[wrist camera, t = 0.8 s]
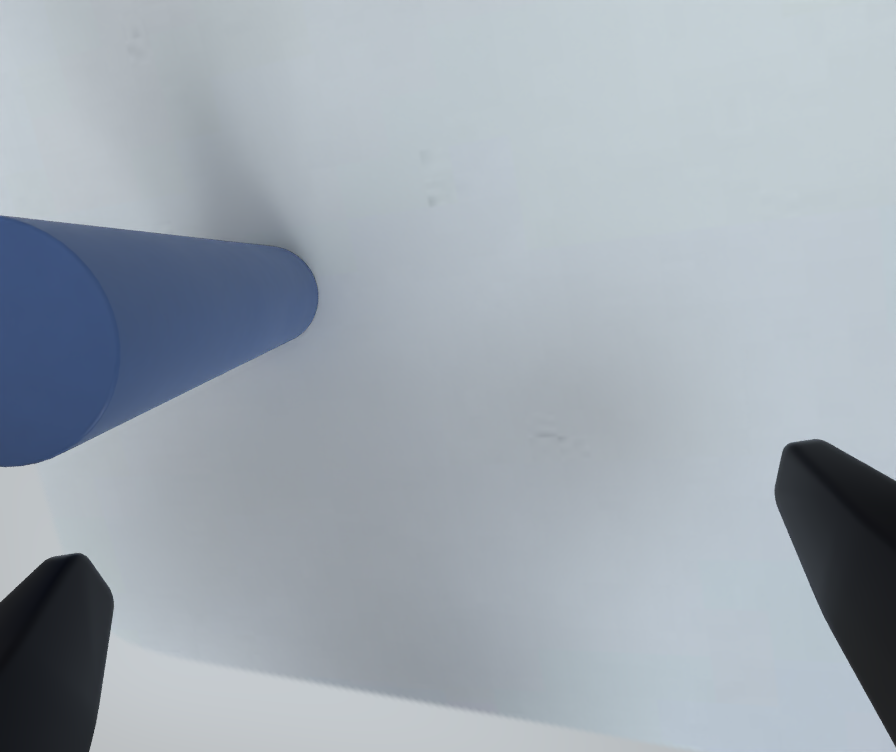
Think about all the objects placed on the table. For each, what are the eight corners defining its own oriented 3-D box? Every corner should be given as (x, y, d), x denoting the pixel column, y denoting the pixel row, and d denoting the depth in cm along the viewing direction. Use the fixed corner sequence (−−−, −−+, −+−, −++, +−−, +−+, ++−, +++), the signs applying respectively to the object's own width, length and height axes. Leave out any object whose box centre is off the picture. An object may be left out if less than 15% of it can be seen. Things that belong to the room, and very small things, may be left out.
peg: (280, 363, 23) (29, 516, 9) (201, 304, 22) (-188, 366, 9) (337, 287, 22) (169, 323, 9) (258, 225, 22) (-53, 159, 8)
